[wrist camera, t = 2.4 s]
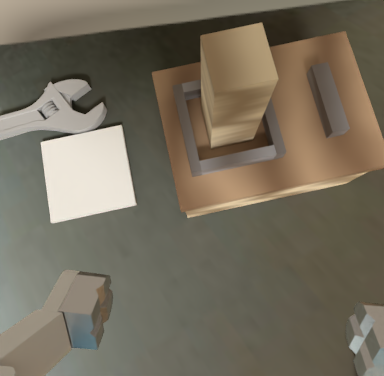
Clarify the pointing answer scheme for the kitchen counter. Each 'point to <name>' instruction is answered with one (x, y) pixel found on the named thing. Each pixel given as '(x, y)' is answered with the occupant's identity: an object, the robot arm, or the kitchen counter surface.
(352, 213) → the kitchen counter surface
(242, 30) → the oak block
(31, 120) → the adjustable wrench
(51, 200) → the white mat
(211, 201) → the brown rectangular box
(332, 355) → the kitchen counter surface
